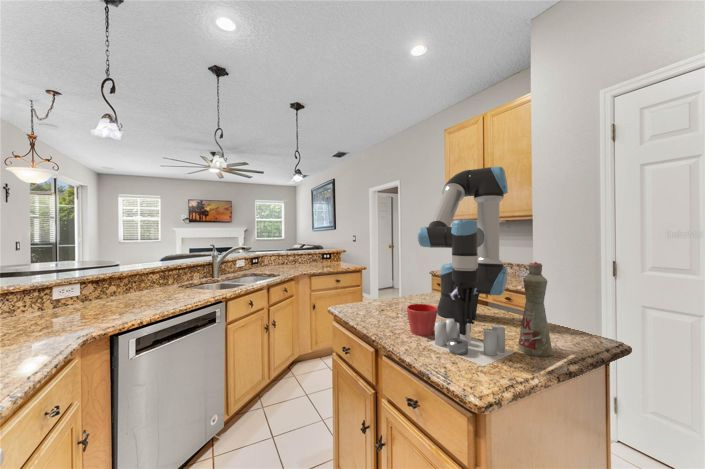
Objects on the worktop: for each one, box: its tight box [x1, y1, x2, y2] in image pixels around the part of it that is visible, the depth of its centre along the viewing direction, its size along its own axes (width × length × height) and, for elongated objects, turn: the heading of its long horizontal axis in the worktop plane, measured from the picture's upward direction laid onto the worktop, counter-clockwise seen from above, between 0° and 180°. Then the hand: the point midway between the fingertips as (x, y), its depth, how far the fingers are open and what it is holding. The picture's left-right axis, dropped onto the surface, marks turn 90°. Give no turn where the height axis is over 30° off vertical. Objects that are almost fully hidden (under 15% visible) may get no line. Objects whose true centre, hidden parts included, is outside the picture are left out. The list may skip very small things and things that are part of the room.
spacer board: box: [427, 318, 515, 367], centre depth 90 cm, size 16×20×8 cm
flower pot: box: [406, 303, 438, 337], centre depth 104 cm, size 11×11×10 cm
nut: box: [448, 338, 468, 356], centre depth 87 cm, size 6×6×3 cm
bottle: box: [517, 261, 554, 358], centre depth 87 cm, size 9×9×28 cm
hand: (465, 344), depth 89 cm, fingers closed
